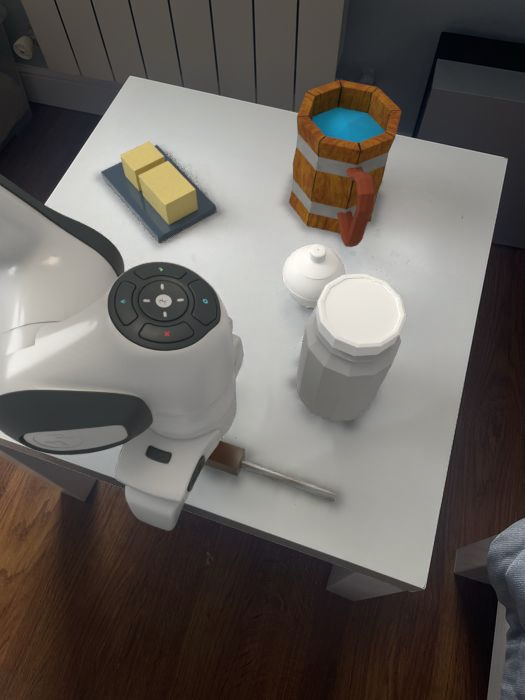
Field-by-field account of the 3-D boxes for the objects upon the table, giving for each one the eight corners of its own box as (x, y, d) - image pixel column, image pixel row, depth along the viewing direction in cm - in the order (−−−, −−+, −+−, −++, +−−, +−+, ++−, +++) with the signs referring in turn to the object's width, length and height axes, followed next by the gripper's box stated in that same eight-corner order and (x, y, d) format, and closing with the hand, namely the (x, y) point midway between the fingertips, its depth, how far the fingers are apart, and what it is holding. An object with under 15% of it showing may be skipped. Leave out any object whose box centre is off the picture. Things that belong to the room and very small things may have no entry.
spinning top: (269, 295, 72) (273, 235, 62) (320, 276, 74) (332, 216, 64) (294, 340, 69) (303, 286, 59) (346, 320, 71) (364, 263, 60)
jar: (278, 391, 66) (288, 312, 50) (326, 339, 69) (349, 249, 53) (343, 441, 63) (375, 374, 47) (389, 384, 66) (434, 303, 51)
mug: (282, 170, 84) (289, 82, 70) (367, 164, 85) (389, 76, 72) (302, 271, 74) (314, 192, 61) (397, 263, 75) (428, 183, 62)
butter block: (169, 225, 76) (165, 205, 73) (142, 195, 79) (138, 175, 75) (198, 209, 78) (195, 189, 74) (171, 181, 80) (168, 160, 77)
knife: (156, 447, 62) (152, 439, 59) (165, 429, 63) (161, 419, 60) (331, 510, 59) (335, 503, 56) (337, 489, 60) (341, 482, 57)
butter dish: (159, 243, 76) (157, 237, 75) (102, 177, 82) (100, 171, 81) (216, 211, 79) (216, 206, 78) (158, 150, 85) (156, 144, 84)
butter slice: (139, 191, 79) (134, 171, 76) (125, 176, 81) (119, 154, 77) (167, 177, 81) (164, 156, 77) (153, 162, 82) (149, 140, 79)
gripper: (199, 298, 53) (208, 362, 65) (103, 493, 44) (134, 525, 56) (259, 317, 52) (256, 378, 65) (174, 520, 43) (190, 547, 55)
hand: (199, 448), depth 60 cm, fingers closed on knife, 2 cm apart
